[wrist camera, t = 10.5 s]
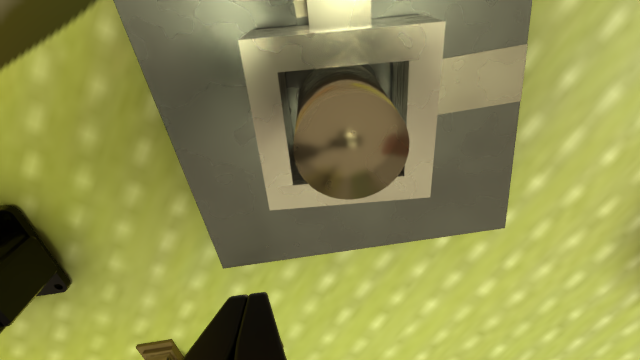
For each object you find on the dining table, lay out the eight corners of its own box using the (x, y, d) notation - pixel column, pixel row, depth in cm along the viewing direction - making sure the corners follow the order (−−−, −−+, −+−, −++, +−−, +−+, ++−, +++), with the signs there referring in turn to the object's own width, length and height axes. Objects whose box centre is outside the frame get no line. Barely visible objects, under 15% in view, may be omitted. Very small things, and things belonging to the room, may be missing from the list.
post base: (225, 259, 22) (200, 344, 17) (86, -92, 13) (-57, -138, 8) (498, 219, 21) (559, 297, 16) (542, -188, 12) (712, -312, 7)
